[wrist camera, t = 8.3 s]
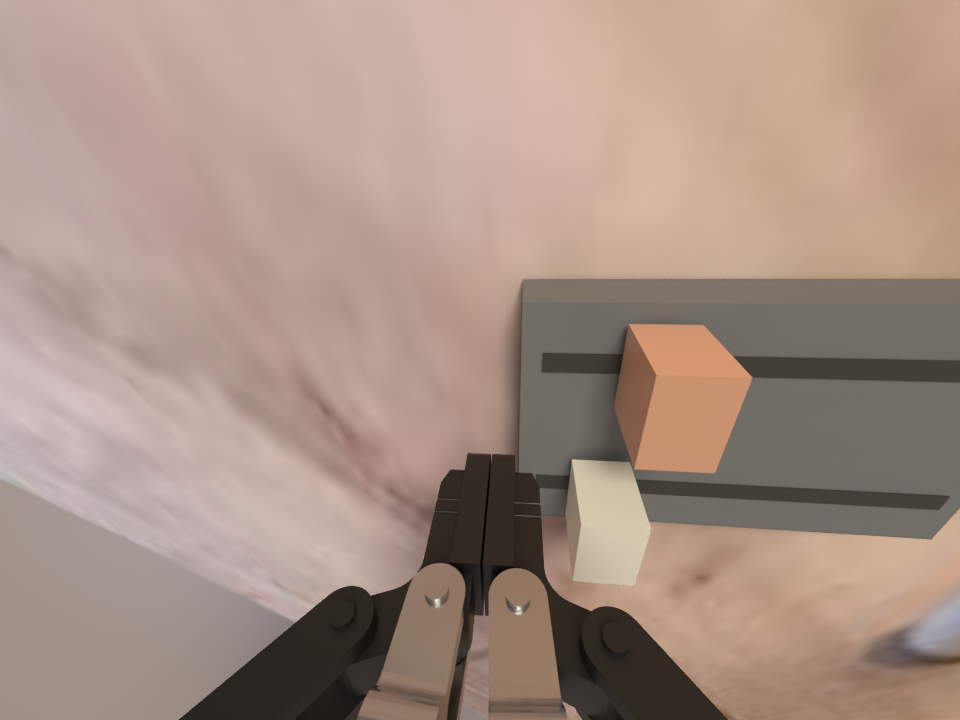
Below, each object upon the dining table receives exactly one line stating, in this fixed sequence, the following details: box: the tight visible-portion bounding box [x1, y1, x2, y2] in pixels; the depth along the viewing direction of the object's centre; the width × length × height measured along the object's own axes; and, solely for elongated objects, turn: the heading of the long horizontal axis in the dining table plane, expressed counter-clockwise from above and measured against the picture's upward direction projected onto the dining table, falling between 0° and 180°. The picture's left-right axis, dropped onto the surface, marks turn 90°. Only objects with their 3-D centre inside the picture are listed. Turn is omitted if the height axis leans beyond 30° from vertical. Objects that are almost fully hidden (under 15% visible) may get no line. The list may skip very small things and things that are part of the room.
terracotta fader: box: [614, 324, 752, 473], centre depth 15 cm, size 3×4×4 cm
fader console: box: [518, 279, 960, 539], centre depth 20 cm, size 23×14×3 cm, turn 92°
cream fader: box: [565, 459, 651, 586], centre depth 20 cm, size 3×4×4 cm
